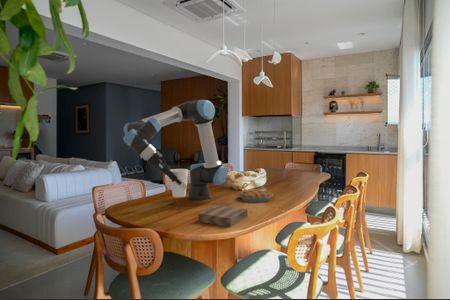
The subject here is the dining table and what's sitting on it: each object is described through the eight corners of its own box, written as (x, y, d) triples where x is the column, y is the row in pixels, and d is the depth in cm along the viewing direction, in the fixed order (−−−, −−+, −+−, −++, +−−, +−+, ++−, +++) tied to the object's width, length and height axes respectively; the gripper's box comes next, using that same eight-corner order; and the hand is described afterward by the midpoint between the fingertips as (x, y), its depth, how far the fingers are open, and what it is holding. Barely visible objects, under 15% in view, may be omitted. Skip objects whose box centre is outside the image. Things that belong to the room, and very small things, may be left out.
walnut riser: (198, 221, 142) (198, 213, 142) (217, 212, 157) (217, 205, 157) (230, 226, 133) (230, 218, 133) (247, 216, 148) (247, 209, 148)
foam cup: (172, 198, 138) (171, 171, 137) (167, 195, 146) (166, 169, 145) (191, 196, 142) (190, 170, 142) (184, 193, 151) (184, 168, 150)
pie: (278, 201, 182) (278, 193, 182) (246, 204, 176) (246, 196, 176) (264, 194, 203) (264, 187, 203) (234, 197, 197) (234, 189, 197)
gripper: (148, 159, 151) (179, 187, 155) (143, 163, 130) (180, 196, 133) (158, 148, 152) (189, 177, 156) (155, 151, 130) (191, 184, 134)
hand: (185, 186), depth 145 cm, fingers closed on foam cup, 9 cm apart
